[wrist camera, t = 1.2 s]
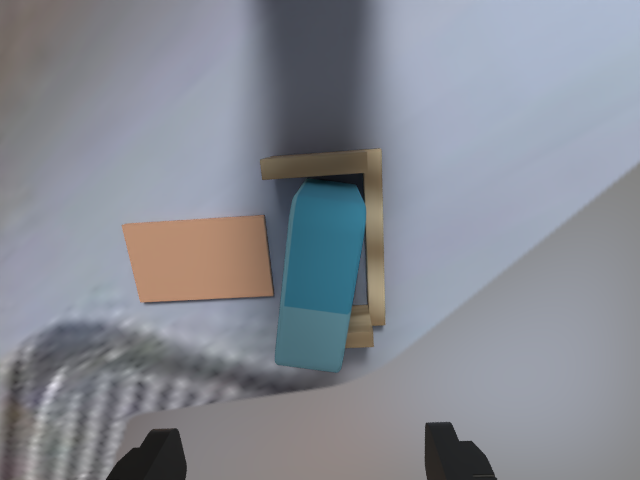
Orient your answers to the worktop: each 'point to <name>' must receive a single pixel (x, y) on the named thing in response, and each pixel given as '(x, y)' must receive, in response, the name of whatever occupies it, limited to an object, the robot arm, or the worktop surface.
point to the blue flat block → (319, 274)
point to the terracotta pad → (200, 258)
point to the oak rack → (372, 187)
